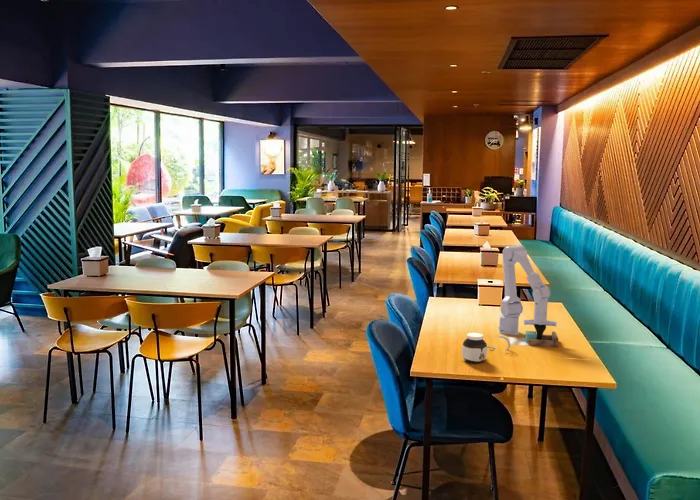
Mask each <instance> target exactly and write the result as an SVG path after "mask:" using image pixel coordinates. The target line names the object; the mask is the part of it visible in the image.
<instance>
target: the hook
mask: <svg viewBox="0 0 700 500" xmlns="http://www.w3.org/2000/svg"><path fill="white" fill-rule="evenodd" d="M498 338H502V339H504V340H505V341H506V342H507V344H508V346H507V348H506V349H505V351H508V350H509V349H510V348H511V344H510V341H509V340H508V338H507V337H506V336H502V335H501V336H498ZM487 349H492V350H497V347H494V346H490V345H487Z"/></svg>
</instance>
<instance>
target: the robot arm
mask: <svg viewBox="0 0 700 500" xmlns="http://www.w3.org/2000/svg"><path fill="white" fill-rule="evenodd" d="M517 263H519V265H520V266H521V268H522V269H523V271H524V272H525V274H526V275H527V276H526V280H527V283H528V285H530V288H531V290H532V293H531V294H532V298H533V302H534V310H533V311H534V313H533V319H524V320H523V325H524V326H526V325H530V326H533V327H534V329H535V332H536V334H537V338H538V340H541V337H542V335H543V334H544V332H545V331H546V330H547V329H546V328H547V327H548V326H550V327H557V323H558V322H557V321H553V320H548V319H547V318H548V304H549V303H548V300H549V298H550V297H551V295H552V291H551V288H550V287H549V286H548V285H546V284H545V283H544V282H543V280H542V278H541V277H540V274H539V273H538V272H535V271H534V269H533V266H532V264H531V262H530V260H529V257H528V250H527V248H526V247H525V246H524V245H522V244H519V245H511V246H510V245H507V246H505V247H504V248H503V250H502V269H503V280H504V281H503V282H504V294H505V295H504V296H505V297H504V298H503V299H502V300H501V302H500V303H501V305H500V312H501V315H499V325H498V333H499V334H500V335H512V336H519V335H520V332H519V319H520V316H521V314H522V313H523V310H524V308H523V304H522V300H521V298H520V297H518V295H517V282H516V269H515V268H516V267H515V266H516V265H515V264H517Z"/></svg>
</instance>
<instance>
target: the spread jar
mask: <svg viewBox="0 0 700 500" xmlns="http://www.w3.org/2000/svg"><path fill="white" fill-rule="evenodd" d="M461 346H462V347H461V355H462V358H463V360H464V361H465V362H466V363H469V364H482V363H483V362H484V361H485V360H486V359H487V355H488V348H487V346H488V345H487V342H486V341H485V340H484V334H482V333H478V332H468V333H467V334H466V339H464V341H463V342H462V345H461Z"/></svg>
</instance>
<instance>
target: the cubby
mask: <svg viewBox="0 0 700 500" xmlns="http://www.w3.org/2000/svg"><path fill="white" fill-rule="evenodd" d="M506 338H507V339H508V340H509V341H510V345H515V346H531V347H546V348H559V337H558V334H557V333H556V331H551V334H544V333H543V335H542V337H541V340H538V338H536V339H529V341H528V343H526V337H517V336H515V337H513V336H507V337H506Z"/></svg>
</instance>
